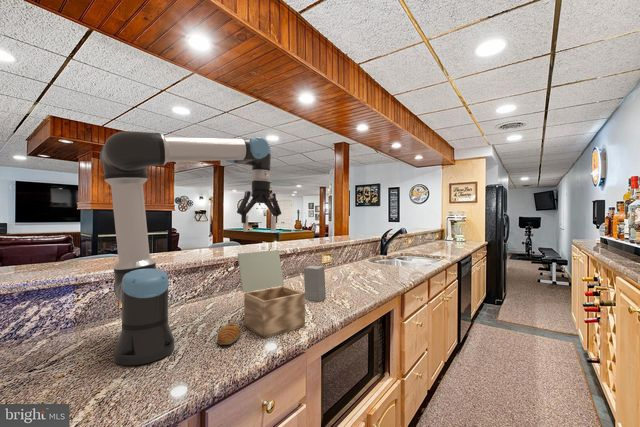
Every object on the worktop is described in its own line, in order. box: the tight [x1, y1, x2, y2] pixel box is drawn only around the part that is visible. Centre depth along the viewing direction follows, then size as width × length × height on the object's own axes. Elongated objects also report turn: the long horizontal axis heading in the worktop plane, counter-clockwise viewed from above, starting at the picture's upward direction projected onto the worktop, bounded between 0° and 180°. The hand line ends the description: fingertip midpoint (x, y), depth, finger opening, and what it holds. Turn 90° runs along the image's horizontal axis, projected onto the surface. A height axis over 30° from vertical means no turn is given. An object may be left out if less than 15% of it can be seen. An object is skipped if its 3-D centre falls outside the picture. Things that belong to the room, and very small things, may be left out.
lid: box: [237, 249, 285, 293], centre depth 115 cm, size 18×14×2 cm
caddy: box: [243, 285, 306, 340], centre depth 108 cm, size 17×14×12 cm
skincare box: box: [303, 265, 327, 302], centre depth 142 cm, size 8×7×16 cm
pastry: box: [217, 323, 242, 346], centre depth 95 cm, size 9×7×4 cm
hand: (259, 231), depth 125 cm, fingers open, 13 cm apart
